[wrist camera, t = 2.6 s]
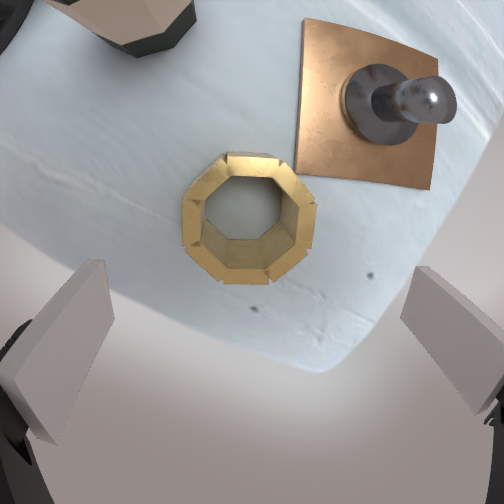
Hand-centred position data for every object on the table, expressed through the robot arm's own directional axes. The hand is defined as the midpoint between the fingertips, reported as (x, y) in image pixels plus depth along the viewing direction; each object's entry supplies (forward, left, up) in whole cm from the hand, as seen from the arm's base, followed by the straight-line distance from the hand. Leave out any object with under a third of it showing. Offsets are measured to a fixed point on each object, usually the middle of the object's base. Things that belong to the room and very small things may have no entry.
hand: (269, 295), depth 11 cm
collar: (0, 0, -15) cm, 15 cm away
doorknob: (+11, +10, -15) cm, 21 cm away
